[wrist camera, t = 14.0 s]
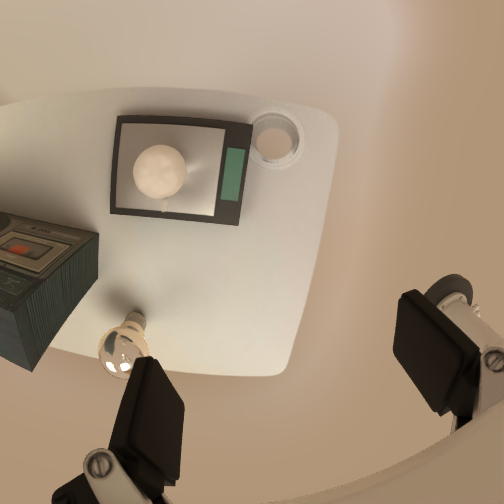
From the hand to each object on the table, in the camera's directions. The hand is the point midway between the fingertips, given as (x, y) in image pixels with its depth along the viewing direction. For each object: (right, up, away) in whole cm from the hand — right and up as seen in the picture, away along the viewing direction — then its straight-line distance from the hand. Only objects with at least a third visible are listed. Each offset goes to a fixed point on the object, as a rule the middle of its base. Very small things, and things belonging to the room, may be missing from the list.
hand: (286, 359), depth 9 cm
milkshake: (-10, +13, +19) cm, 25 cm away
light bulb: (-19, -6, +29) cm, 35 cm away
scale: (-10, +14, +22) cm, 28 cm away
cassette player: (-37, +6, +22) cm, 43 cm away
